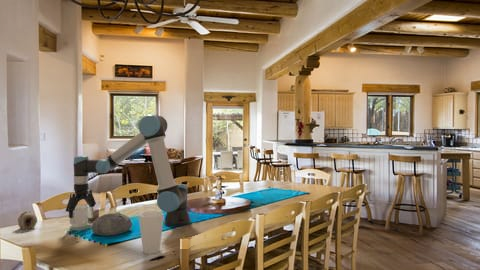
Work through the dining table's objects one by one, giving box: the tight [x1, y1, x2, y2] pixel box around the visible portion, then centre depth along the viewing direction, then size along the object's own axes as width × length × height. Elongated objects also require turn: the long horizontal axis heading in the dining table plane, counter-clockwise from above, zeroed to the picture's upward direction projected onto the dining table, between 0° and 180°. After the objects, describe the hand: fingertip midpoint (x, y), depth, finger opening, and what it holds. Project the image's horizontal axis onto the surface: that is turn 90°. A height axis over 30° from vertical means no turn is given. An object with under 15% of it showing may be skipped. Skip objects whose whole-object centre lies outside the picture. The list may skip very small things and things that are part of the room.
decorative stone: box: [91, 211, 133, 236], centre depth 189 cm, size 18×21×10 cm
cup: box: [138, 210, 165, 255], centre depth 159 cm, size 11×10×17 cm
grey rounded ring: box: [17, 211, 38, 231], centre depth 197 cm, size 9×8×10 cm
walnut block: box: [88, 208, 100, 221], centre depth 215 cm, size 6×6×6 cm
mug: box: [70, 205, 89, 228], centre depth 199 cm, size 9×12×11 cm
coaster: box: [69, 223, 93, 231], centre depth 199 cm, size 12×12×1 cm
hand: (81, 220), depth 199 cm, fingers open, 13 cm apart
